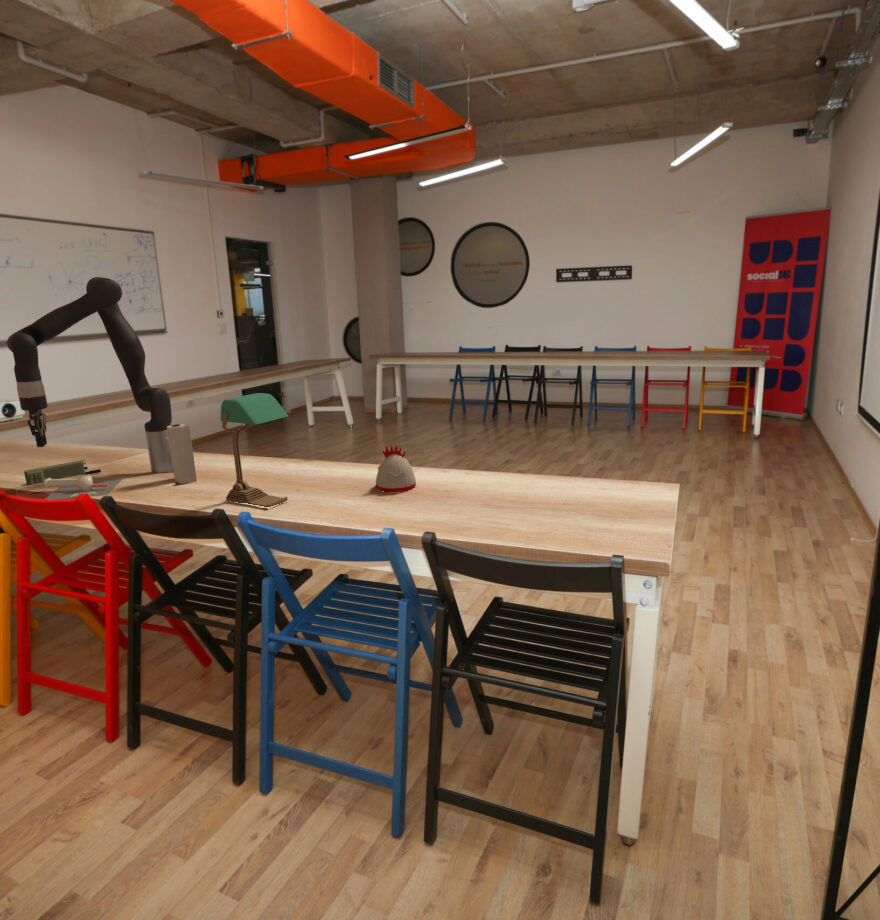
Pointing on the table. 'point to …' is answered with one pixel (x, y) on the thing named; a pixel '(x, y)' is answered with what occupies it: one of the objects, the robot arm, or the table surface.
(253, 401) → the banker's lamp
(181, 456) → the paper towel roll
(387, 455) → the beige knit hat
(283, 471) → the table surface
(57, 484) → the lever with orange pointer
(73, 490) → the gauge board
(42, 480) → the handheld radio
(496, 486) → the table surface
